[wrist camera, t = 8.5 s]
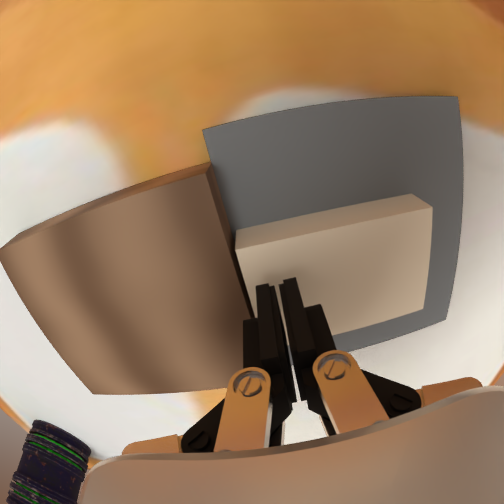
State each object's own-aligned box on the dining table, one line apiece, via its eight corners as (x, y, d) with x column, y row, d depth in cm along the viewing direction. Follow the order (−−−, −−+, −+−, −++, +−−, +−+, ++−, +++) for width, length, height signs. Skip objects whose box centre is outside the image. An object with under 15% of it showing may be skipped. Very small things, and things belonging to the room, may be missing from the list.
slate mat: (453, 96, 11) (457, 96, 10) (443, 316, 17) (445, 319, 17) (203, 129, 12) (202, 130, 11) (272, 364, 19) (273, 368, 18)
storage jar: (104, 457, 30) (88, 540, 16) (63, 450, 31) (44, 520, 17) (59, 422, 25) (30, 517, 12) (21, 416, 26) (-7, 492, 13)
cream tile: (411, 193, 13) (432, 207, 11) (408, 288, 16) (423, 308, 14) (236, 230, 14) (235, 250, 12) (263, 324, 16) (265, 349, 15)
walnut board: (212, 161, 12) (205, 172, 10) (268, 350, 18) (271, 380, 16) (19, 233, 13) (-4, 252, 11) (102, 369, 19) (92, 394, 17)
